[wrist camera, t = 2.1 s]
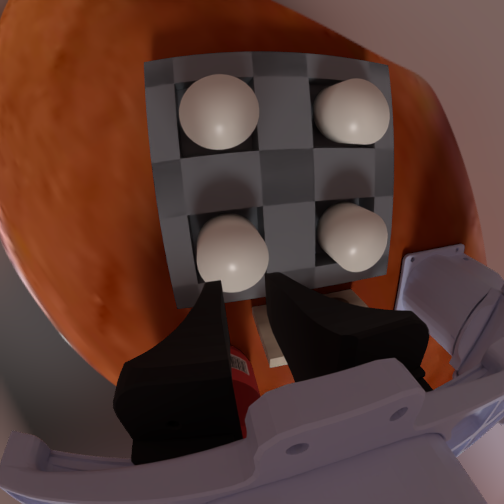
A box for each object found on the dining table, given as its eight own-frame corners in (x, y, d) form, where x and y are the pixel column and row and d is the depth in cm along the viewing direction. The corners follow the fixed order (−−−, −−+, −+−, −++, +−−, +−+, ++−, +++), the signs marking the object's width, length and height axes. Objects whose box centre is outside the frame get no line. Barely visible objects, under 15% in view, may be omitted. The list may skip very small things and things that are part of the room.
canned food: (156, 345, 23) (145, 452, 13) (245, 330, 24) (275, 436, 14) (179, 399, 26) (183, 492, 16) (255, 387, 27) (281, 478, 17)
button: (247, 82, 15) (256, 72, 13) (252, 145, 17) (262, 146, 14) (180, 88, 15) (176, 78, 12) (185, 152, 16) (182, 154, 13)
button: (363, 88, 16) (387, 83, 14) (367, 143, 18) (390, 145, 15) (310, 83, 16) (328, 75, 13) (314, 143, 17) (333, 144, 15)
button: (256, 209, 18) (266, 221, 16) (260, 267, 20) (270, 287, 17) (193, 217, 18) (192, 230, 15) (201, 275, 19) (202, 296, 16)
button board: (366, 71, 18) (387, 65, 15) (367, 260, 24) (386, 274, 21) (151, 73, 16) (144, 62, 13) (179, 288, 22) (177, 308, 19)
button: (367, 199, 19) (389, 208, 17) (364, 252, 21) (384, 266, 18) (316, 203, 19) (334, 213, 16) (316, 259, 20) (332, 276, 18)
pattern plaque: (351, 286, 25) (390, 326, 19) (350, 296, 25) (387, 338, 19) (251, 304, 23) (269, 356, 17) (252, 314, 24) (270, 367, 18)
